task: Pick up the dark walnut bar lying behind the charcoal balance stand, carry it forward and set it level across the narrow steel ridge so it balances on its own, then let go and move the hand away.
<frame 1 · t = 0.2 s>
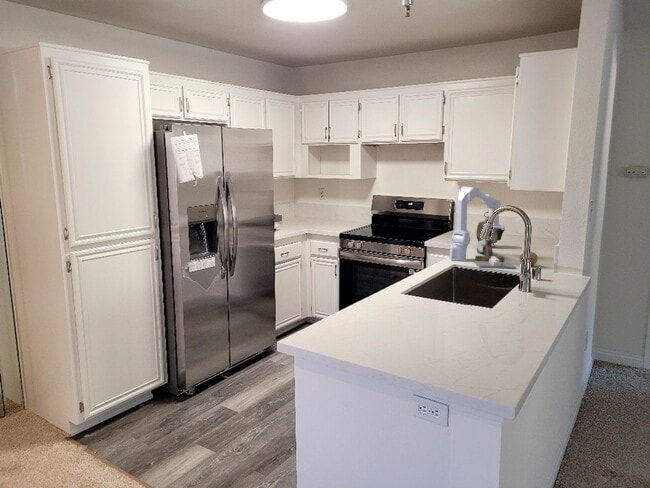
hand: (494, 239, 300), 10 cm above the countertop, tool pointing down, fingers open, 7 cm apart
onion: (527, 266, 273), on the countertop
gun: (484, 256, 300), on the countertop
bar: (489, 262, 282), on the countertop
stand: (494, 265, 271), on the countertop
tabletop clock: (486, 247, 332), on the countertop
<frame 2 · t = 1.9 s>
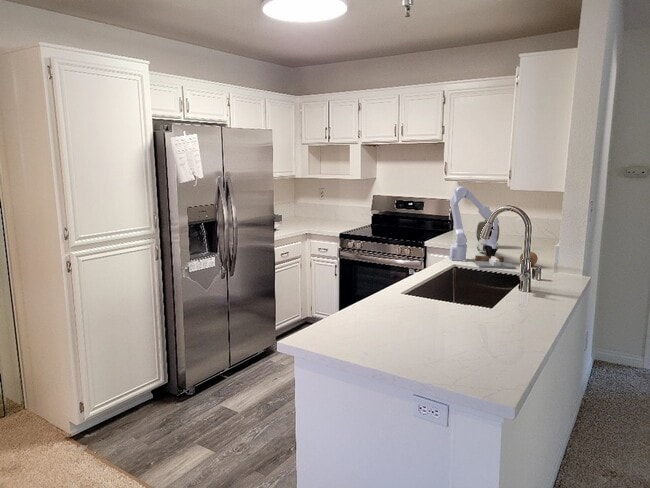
hand: (490, 258, 282), 2 cm above the countertop, tool pointing down, fingers open, 5 cm apart
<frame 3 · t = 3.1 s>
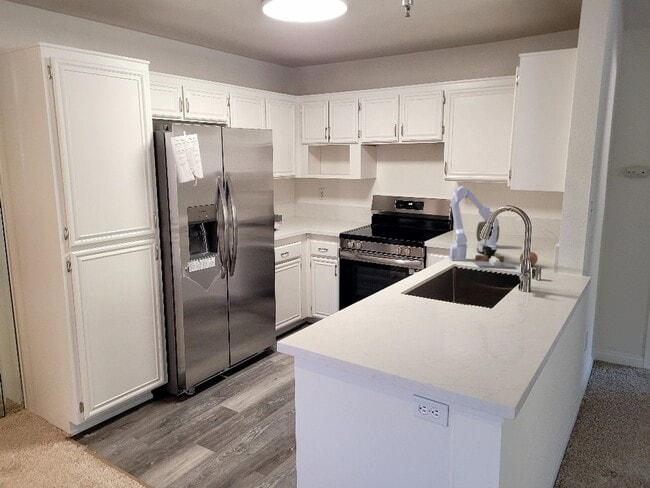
hand: (489, 259, 282), 1 cm above the countertop, tool pointing down, fingers closed on bar, 3 cm apart
bar: (489, 261, 282), on the countertop, touching gripper
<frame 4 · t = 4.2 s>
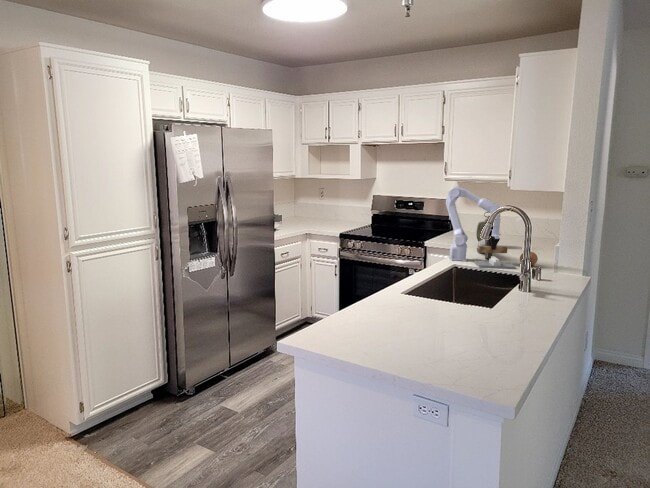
hand: (492, 249, 277), 8 cm above the countertop, tool pointing down, fingers closed on bar, 3 cm apart
bar: (492, 252, 277), point 6 cm above the countertop, touching gripper
everything else where it was.
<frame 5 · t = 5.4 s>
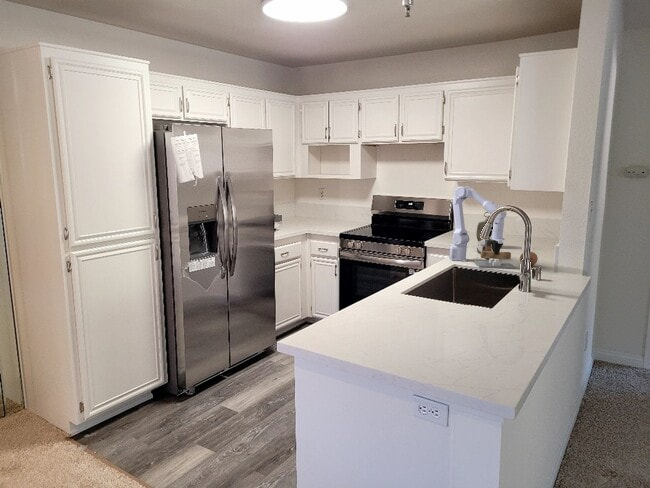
hand: (495, 254, 270), 7 cm above the countertop, tool pointing down, fingers closed on bar, 3 cm apart
bar: (495, 258, 270), point 5 cm above the countertop, touching gripper
everything else where it was.
when the fingers open (7 cm above the countertop, at t = 5.8 s): bar stays where it is, resting on stand.
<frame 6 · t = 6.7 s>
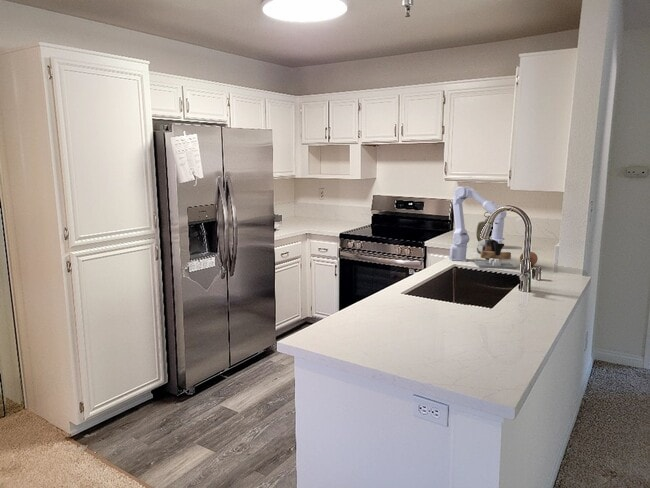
hand: (495, 253, 270), 7 cm above the countertop, tool pointing down, fingers open, 7 cm apart
bar: (495, 258, 270), point 5 cm above the countertop, touching stand
everything else where it was.
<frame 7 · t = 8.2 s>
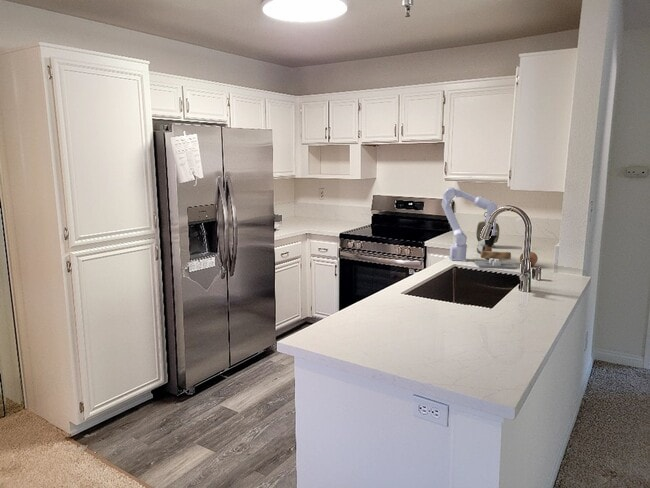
hand: (488, 245, 280), 10 cm above the countertop, tool pointing down, fingers open, 7 cm apart
nothing on the countertop moved.
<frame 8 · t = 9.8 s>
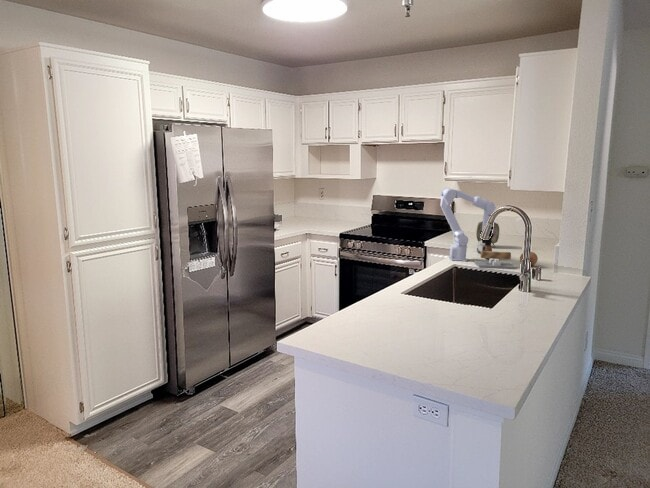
hand: (485, 244, 284), 10 cm above the countertop, tool pointing down, fingers open, 7 cm apart
nothing on the countertop moved.
at the end: bar 0.1 cm off-centre on the stand, point 4.6 cm above the stand's base; bar tilted 0°; the gripper is holding nothing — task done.
